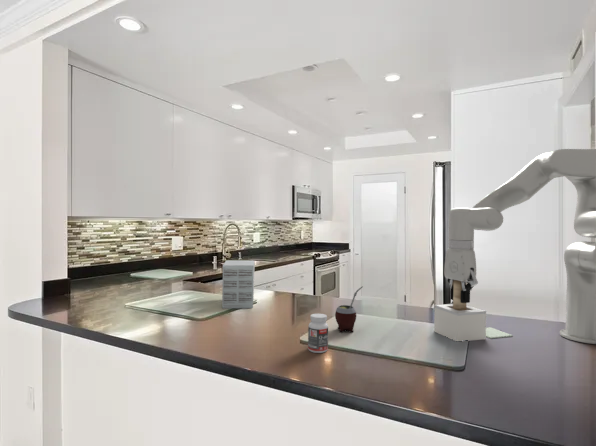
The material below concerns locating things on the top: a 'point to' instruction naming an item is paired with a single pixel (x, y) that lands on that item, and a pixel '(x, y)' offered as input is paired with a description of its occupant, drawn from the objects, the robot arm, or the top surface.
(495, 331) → the pad
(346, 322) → the mate gourd
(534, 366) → the top surface
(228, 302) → the supplement box
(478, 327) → the box
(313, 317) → the pill bottle
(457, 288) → the wooden cylinder
